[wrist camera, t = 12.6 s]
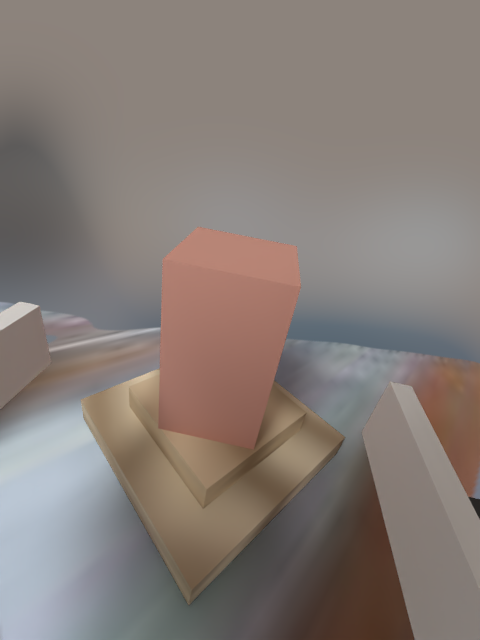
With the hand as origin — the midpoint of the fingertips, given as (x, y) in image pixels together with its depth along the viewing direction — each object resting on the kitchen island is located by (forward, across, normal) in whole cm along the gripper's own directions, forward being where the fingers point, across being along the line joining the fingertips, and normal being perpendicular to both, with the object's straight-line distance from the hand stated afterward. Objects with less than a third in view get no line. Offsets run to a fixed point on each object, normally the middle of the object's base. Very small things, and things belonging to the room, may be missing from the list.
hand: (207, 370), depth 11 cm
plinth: (+7, 0, -12) cm, 14 cm away
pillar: (+6, 0, -8) cm, 10 cm away
